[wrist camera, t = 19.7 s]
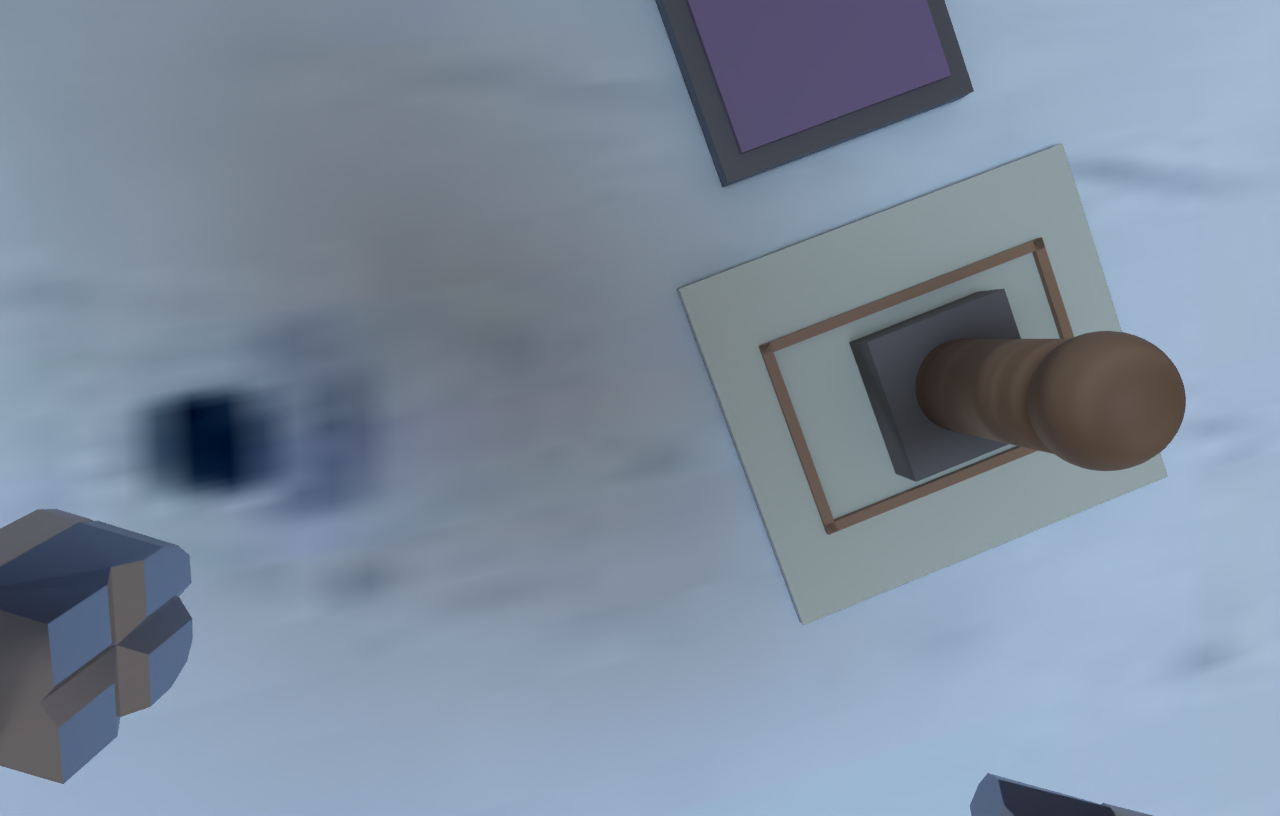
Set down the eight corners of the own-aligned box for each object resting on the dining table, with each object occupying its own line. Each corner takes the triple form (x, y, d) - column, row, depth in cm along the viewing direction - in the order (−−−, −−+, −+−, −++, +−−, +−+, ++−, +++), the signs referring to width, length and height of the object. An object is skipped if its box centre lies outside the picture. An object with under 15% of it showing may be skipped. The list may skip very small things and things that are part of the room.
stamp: (849, 342, 34) (1016, 342, 22) (978, 291, 35) (1216, 263, 22) (895, 473, 35) (1084, 547, 22) (1022, 422, 35) (1278, 467, 23)
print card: (677, 289, 34) (679, 288, 33) (1055, 146, 35) (1066, 141, 34) (799, 621, 35) (805, 627, 35) (1159, 474, 36) (1172, 477, 36)
